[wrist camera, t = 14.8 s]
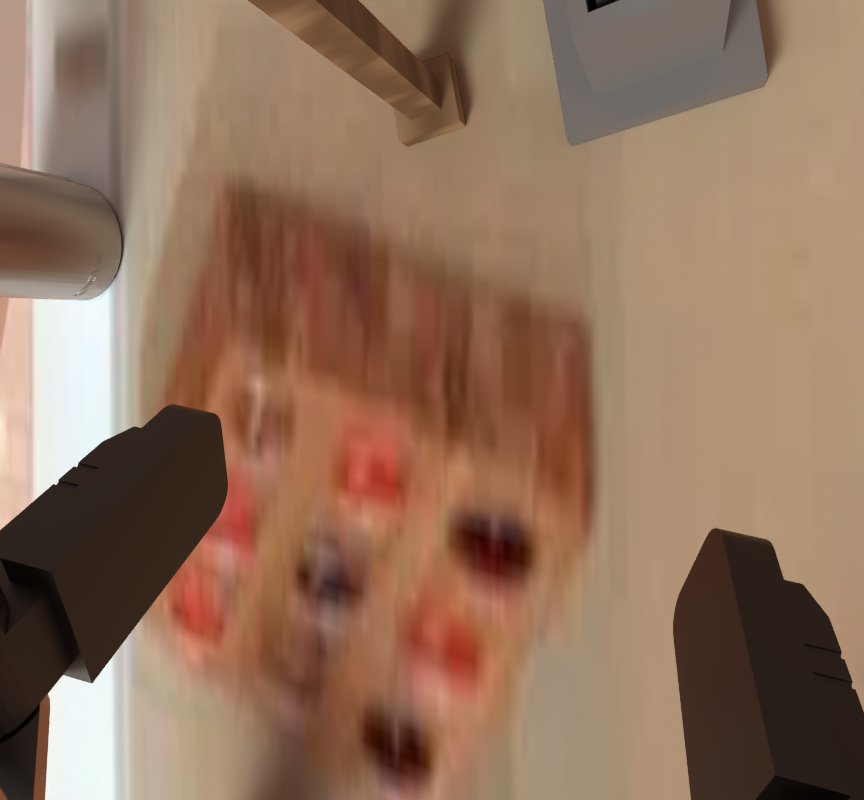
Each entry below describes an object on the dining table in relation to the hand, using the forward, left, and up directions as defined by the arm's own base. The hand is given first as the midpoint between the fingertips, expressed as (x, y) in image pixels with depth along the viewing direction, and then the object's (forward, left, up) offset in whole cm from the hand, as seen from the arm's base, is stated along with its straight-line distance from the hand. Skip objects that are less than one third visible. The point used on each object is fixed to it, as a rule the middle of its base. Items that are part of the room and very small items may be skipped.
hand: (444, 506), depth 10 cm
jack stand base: (-12, +14, -29) cm, 34 cm away
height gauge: (-20, +4, -29) cm, 35 cm away
